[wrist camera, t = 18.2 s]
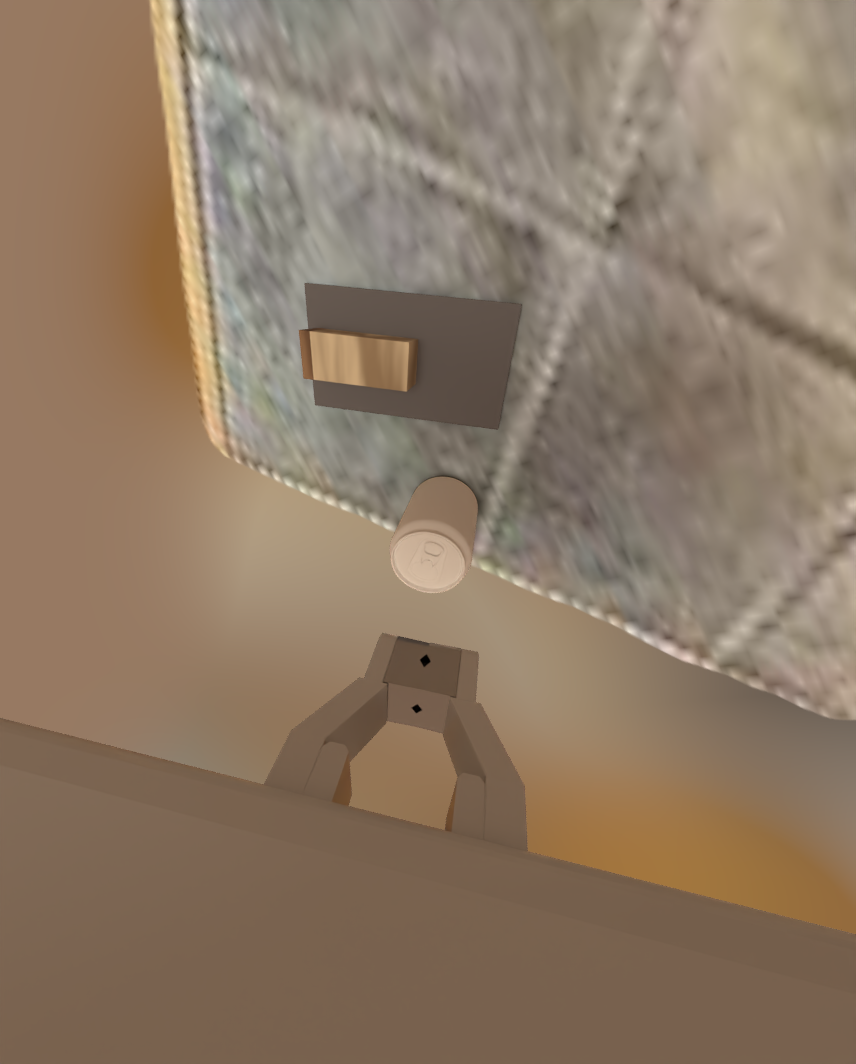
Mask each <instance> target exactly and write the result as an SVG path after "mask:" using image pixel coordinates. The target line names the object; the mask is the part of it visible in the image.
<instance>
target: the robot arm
mask: <svg viewBox="0 0 856 1064" xmlns="http://www.w3.org/2000/svg"><path fill="white" fill-rule="evenodd" d="M478 659H479V654H478V652H475V651H470V650H465V649H461V648H456V647H450V646H446V645H440V644H435V643H426V642H422V641H417V640H413V639H409V638H404V637H400V636H395V635H390V634H385V633H382V634H381V636H380V637H379V640H378V642H377V645H376V648H375V651H374V653H373V656H372V658H371V661H370V664H369V667H368V669H367V672H366V674H365V677H364V678H358V679H357V680H356V681H354V682H353V683H352V684H350V685H349V686H348V687H347V688H345V689H344V690H343V691H341V692H340V693H339V694H337V695H336V696H335V697H334V698H332V699H331V700H330V701H328V702H327V703H326V704H325V705H323V706H322V707H321V708H319V709H318V710H317V711H316V712H314V713H313V714H312V715H310V716H309V717H308V718H307V719H305V720H304V721H303V722H301V723H300V724H299V725H298V726H296V727H295V728H294V729H292V730H291V732H290V734H289V736H288V738H287V740H286V742H285V744H284V746H283V747H282V750H281V752H280V754H279V755H278V758H277V759H276V761H275V763H274V765H273V767H272V769H271V771H270V773H269V775H268V777H267V779H266V781H265V783H264V784H260V783H256V782H252V781H248V780H244V779H240V778H236V777H232V776H228V775H224V774H220V773H216V772H212V771H208V770H204V769H200V768H197V767H193V766H188V765H185V764H181V763H177V762H173V761H168V760H165V759H160V758H157V757H153V756H149V755H145V754H141V753H137V752H133V751H129V750H125V749H121V748H117V747H113V746H110V745H105V744H101V743H97V742H93V741H90V740H85V739H82V738H78V737H74V736H70V735H66V734H62V733H58V732H54V731H50V730H46V729H42V728H38V727H34V726H30V725H26V724H22V723H18V722H14V721H10V720H6V719H2V718H0V1064H856V934H852V933H848V932H844V931H840V930H836V929H832V928H828V927H824V926H820V925H817V924H813V923H809V922H805V921H801V920H797V919H793V918H789V917H785V916H781V915H777V914H773V913H769V912H765V911H761V910H757V909H753V908H749V907H745V906H742V905H738V904H734V903H730V902H726V901H722V900H718V899H714V898H710V897H706V896H702V895H698V894H694V893H690V892H686V891H682V890H678V889H674V888H670V887H667V886H663V885H659V884H655V883H651V882H647V881H643V880H639V879H634V878H631V877H627V876H623V875H619V874H615V873H611V872H607V871H603V870H599V869H596V868H592V867H587V866H584V865H580V864H575V863H572V862H568V861H564V860H560V859H556V858H552V857H548V856H544V855H540V854H536V853H532V852H528V850H527V849H528V848H527V828H526V805H525V786H524V784H523V782H522V780H521V778H520V776H519V774H518V772H517V771H516V769H515V767H514V765H513V763H512V761H511V759H510V757H509V756H508V754H507V752H506V750H505V748H504V746H503V744H502V743H501V741H500V739H499V737H498V735H497V733H496V731H495V729H494V728H493V726H492V724H491V722H490V720H489V718H488V716H487V714H486V713H485V711H484V709H483V707H482V705H481V704H480V703H477V702H476V689H477V675H478ZM386 721H390V722H394V723H400V724H405V725H410V726H415V727H419V728H423V729H427V730H431V731H435V732H439V733H443V737H444V740H445V743H446V746H447V748H448V751H449V754H450V757H451V760H452V762H453V765H454V768H455V771H456V774H457V777H458V778H457V781H456V785H455V788H454V792H453V795H452V799H451V803H450V806H449V810H448V813H447V817H446V824H445V830H442V829H438V828H434V827H430V826H426V825H422V824H418V823H414V822H410V821H406V820H402V819H398V818H394V817H390V816H386V815H382V814H378V813H374V812H370V811H366V810H363V809H358V808H355V807H351V806H349V803H350V799H351V796H352V791H351V790H352V789H351V777H350V761H351V760H352V759H353V758H354V757H355V756H356V755H357V754H358V753H359V752H360V751H361V750H362V748H363V747H364V746H365V745H366V744H367V743H368V742H369V741H370V740H371V739H372V738H373V737H374V736H375V735H376V734H377V732H378V731H379V730H380V729H381V728H382V727H383V726H384V725H385V724H386Z"/></svg>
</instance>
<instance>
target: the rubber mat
mask: <svg viewBox="0 0 856 1064" xmlns="http://www.w3.org/2000/svg"><path fill="white" fill-rule="evenodd" d="M305 294H306V306H307V317H308V329H313V328H323V329H332V330H341V331H350V332H359V333H368V334H377V335H386V336H395V337H404V338H413V339H418V353H417V370H416V384H415V385H414V386H413V387H411V388H410V389H409V390H408V391H407V392H406V391H398V390H390V389H382V388H375V387H367V386H359V385H351V384H343V383H335V382H328V381H320V380H313V386H314V398H315V405H318V406H326V407H333V408H341V409H348V410H355V411H363V412H370V413H378V414H385V415H393V416H400V417H407V418H415V419H422V420H430V421H437V422H445V423H452V424H459V425H467V426H474V427H482V428H489V429H497V430H498V427H499V422H500V416H501V411H502V406H503V401H504V395H505V390H506V385H507V380H508V374H509V369H510V364H511V359H512V353H513V348H514V343H515V338H516V332H517V327H518V322H519V317H520V312H521V306H522V304H514V303H504V302H493V301H483V300H473V299H463V298H452V297H442V296H432V295H422V294H411V293H401V292H391V291H381V290H370V289H360V288H350V287H340V286H329V285H319V284H309V283H305Z"/></svg>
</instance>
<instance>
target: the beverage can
mask: <svg viewBox="0 0 856 1064" xmlns="http://www.w3.org/2000/svg"><path fill="white" fill-rule="evenodd" d="M477 514H478V504H477V500H476V497H475V495H474V493H473V492H472V491H471V489H470V488H469V487H468V486H467V485H465V484H464V483H463V482H461V481H459V480H457V479H454V478H450V477H434V478H431V479H428V480H426V481H424V482H423V483H422V484H420V485H419V486H418V487H417V489H416V490H415V492H414V494H413V496H412V498H411V500H410V502H409V504H408V506H407V508H406V510H405V512H404V514H403V516H402V518H401V520H400V523H399V525H398V527H397V529H396V531H395V533H394V535H393V537H392V540H391V543H390V557H391V564H392V567H393V570H394V572H395V574H396V575H397V576H398V578H399V579H400V580H401V581H402V582H403V583H405V584H406V585H408V586H409V587H411V588H413V589H415V590H418V591H421V592H426V593H439V592H444V591H447V590H449V589H451V588H453V587H454V586H456V585H457V584H458V583H459V582H460V581H461V579H462V578H463V577H464V576H465V575H466V574H467V572H468V570H469V568H470V566H471V562H472V554H473V546H474V538H475V530H476V522H477Z"/></svg>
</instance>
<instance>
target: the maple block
mask: <svg viewBox="0 0 856 1064" xmlns="http://www.w3.org/2000/svg"><path fill="white" fill-rule="evenodd" d="M299 336H300V346H301V356H302V367H303V377H304V379H312V380H320V381H328V382H335V383H343V384H351V385H359V386H367V387H375V388H382V389H390V390H398V391H406V392H407V391H408V390H409V389H410V388H411V387H413V386H414V385H415V384H416V370H417V353H418V339H413V338H404V337H395V336H386V335H377V334H368V333H359V332H350V331H341V330H332V329H323V328H313V329H304V330H299Z"/></svg>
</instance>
